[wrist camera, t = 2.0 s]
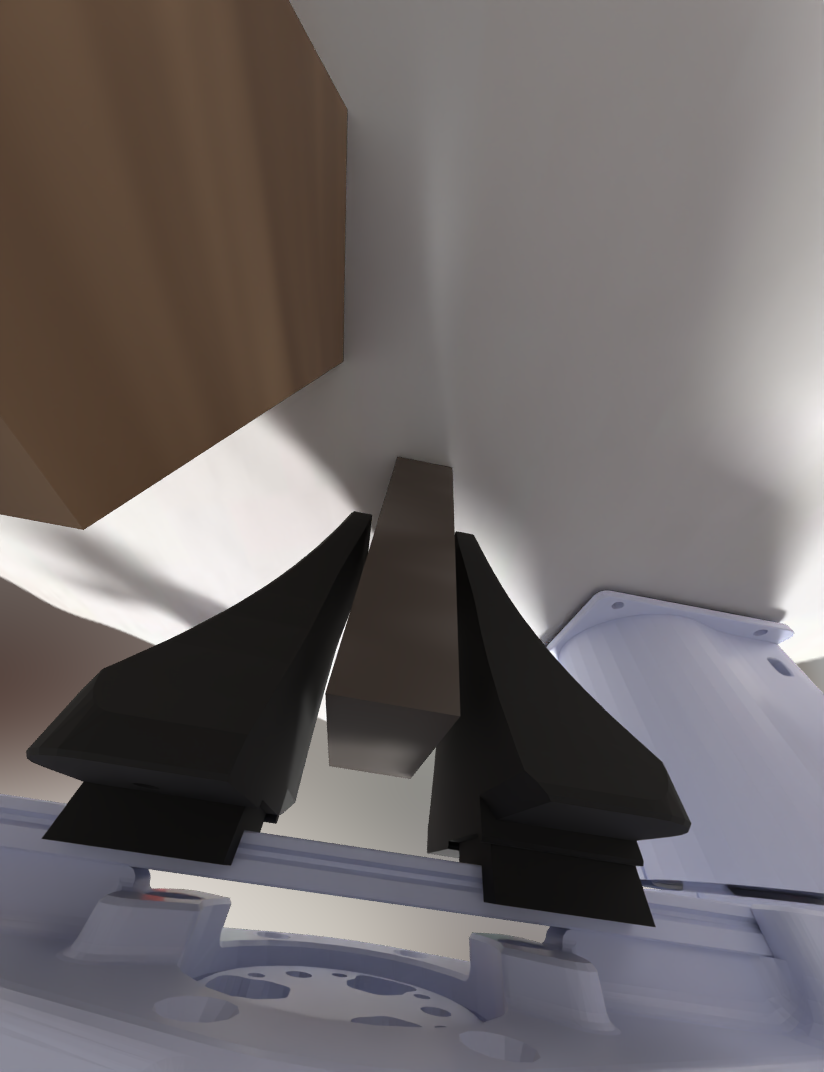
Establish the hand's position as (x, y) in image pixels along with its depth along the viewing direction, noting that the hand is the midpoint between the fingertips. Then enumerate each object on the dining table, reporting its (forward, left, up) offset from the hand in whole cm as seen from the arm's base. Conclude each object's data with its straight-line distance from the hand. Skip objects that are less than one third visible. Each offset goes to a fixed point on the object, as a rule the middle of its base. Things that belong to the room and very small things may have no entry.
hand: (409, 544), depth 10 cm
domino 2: (0, 0, -2) cm, 2 cm away
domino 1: (+4, -7, -2) cm, 8 cm away
